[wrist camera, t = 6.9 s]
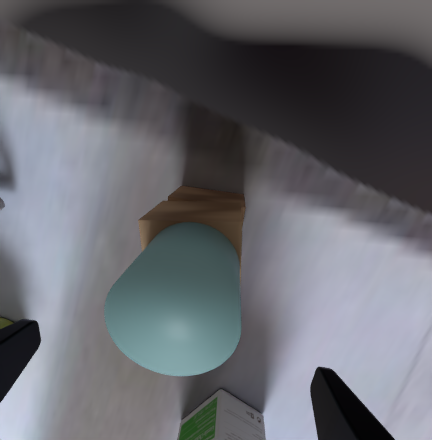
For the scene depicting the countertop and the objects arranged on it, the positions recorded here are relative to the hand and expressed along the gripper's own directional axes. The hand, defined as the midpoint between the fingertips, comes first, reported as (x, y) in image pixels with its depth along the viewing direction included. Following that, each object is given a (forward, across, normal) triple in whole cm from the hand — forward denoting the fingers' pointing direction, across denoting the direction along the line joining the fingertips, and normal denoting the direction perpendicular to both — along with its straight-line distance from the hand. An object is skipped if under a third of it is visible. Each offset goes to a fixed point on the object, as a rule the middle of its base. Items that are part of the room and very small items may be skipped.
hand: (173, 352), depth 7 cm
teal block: (+5, 0, 0) cm, 5 cm away
